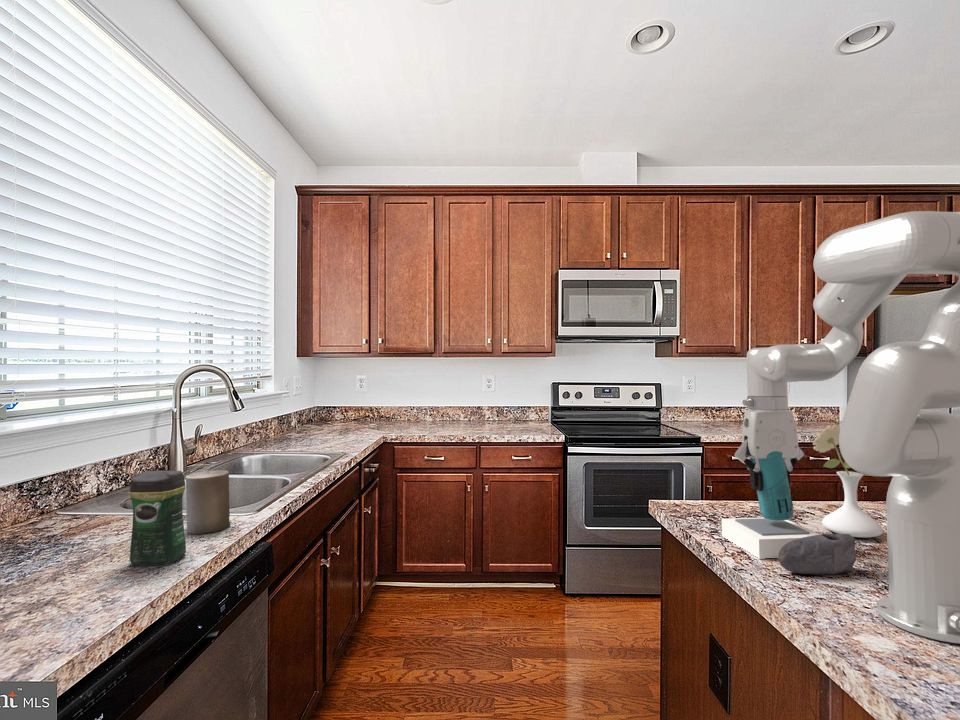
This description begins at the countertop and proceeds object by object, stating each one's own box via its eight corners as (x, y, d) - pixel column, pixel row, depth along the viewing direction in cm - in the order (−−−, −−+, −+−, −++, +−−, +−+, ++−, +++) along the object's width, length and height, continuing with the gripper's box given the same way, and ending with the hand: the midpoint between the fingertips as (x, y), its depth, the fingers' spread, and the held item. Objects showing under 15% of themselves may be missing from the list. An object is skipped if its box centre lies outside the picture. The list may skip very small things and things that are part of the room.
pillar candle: (238, 523, 129) (237, 465, 130) (209, 535, 120) (208, 472, 120) (207, 522, 132) (206, 464, 132) (176, 533, 122) (175, 472, 123)
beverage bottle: (781, 530, 104) (766, 436, 103) (753, 521, 110) (739, 432, 109) (803, 521, 106) (788, 429, 105) (775, 512, 112) (761, 426, 111)
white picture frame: (826, 557, 100) (826, 535, 101) (759, 559, 100) (758, 537, 100) (781, 534, 114) (781, 515, 115) (722, 536, 114) (721, 516, 114)
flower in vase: (861, 526, 119) (858, 421, 120) (896, 542, 108) (893, 427, 108) (804, 525, 120) (801, 421, 121) (832, 541, 109) (829, 427, 110)
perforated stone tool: (787, 579, 90) (786, 541, 91) (770, 568, 96) (769, 531, 96) (868, 577, 91) (867, 539, 91) (847, 566, 96) (845, 530, 96)
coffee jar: (192, 552, 109) (192, 466, 109) (169, 567, 101) (169, 474, 101) (148, 553, 109) (148, 467, 109) (121, 567, 101) (121, 475, 101)
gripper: (739, 406, 104) (741, 494, 103) (818, 405, 104) (821, 492, 104) (719, 404, 111) (722, 486, 111) (794, 402, 112) (796, 484, 111)
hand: (770, 488), depth 107 cm, fingers closed on beverage bottle, 5 cm apart
